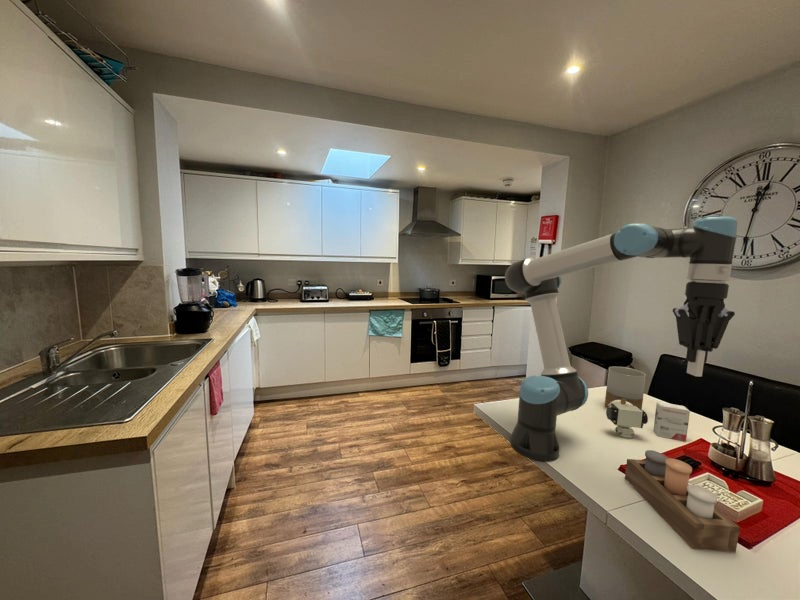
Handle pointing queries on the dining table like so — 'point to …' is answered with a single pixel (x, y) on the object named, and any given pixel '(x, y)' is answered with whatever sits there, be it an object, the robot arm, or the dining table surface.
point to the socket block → (683, 512)
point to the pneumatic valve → (626, 418)
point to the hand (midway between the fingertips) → (694, 374)
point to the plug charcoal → (655, 463)
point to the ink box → (671, 421)
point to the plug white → (701, 501)
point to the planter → (625, 386)
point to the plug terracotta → (677, 476)
